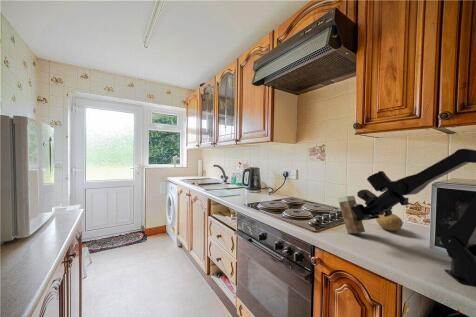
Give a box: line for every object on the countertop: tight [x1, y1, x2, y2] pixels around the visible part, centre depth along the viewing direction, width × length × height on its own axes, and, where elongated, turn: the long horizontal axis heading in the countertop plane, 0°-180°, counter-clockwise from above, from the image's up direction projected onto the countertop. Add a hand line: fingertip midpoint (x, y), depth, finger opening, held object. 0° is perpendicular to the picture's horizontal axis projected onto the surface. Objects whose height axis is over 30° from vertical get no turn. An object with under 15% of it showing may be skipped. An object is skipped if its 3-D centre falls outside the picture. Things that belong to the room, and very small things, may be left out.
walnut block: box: [337, 195, 366, 234], centre depth 93 cm, size 5×5×16 cm
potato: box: [375, 212, 404, 232], centre depth 98 cm, size 10×14×8 cm
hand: (357, 219), depth 90 cm, fingers closed
